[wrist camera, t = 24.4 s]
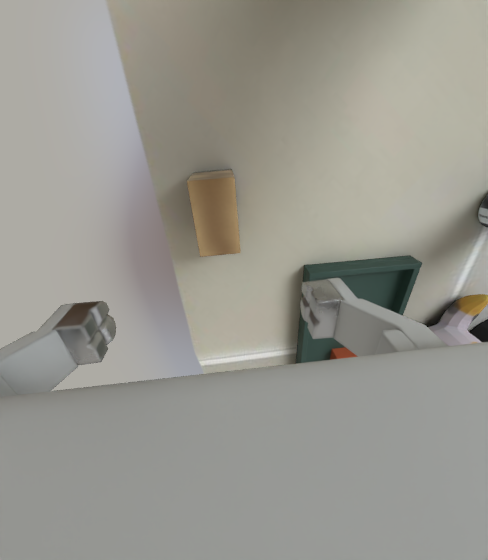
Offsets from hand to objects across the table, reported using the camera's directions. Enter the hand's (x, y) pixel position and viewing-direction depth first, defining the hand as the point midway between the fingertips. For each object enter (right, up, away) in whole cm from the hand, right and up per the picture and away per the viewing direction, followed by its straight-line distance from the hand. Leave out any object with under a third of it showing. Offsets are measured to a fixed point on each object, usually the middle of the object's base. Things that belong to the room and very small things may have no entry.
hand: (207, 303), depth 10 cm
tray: (+17, -6, +28) cm, 33 cm away
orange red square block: (+18, -12, +30) cm, 37 cm away
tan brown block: (-2, +9, +17) cm, 19 cm away
